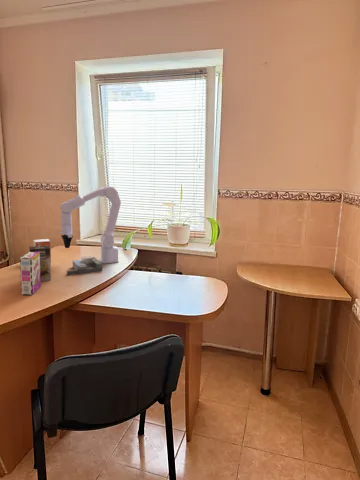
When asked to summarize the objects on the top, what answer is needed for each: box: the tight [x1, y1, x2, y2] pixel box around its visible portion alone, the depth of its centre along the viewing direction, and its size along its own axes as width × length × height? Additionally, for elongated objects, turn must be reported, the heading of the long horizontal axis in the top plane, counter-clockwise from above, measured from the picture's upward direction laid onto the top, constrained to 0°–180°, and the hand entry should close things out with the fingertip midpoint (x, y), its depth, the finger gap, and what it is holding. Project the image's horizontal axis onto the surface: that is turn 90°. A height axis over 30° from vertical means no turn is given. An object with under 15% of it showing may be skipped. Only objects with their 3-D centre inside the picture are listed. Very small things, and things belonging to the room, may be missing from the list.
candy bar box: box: [19, 251, 42, 296], centre depth 144 cm, size 11×5×16 cm, turn 5°
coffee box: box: [28, 246, 52, 282], centre depth 159 cm, size 9×6×16 cm
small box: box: [32, 238, 52, 263], centre depth 187 cm, size 8×6×13 cm
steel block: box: [80, 255, 93, 268], centre depth 182 cm, size 5×4×6 cm
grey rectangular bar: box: [72, 259, 87, 270], centre depth 178 cm, size 4×14×4 cm, turn 32°
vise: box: [66, 256, 103, 276], centre depth 178 cm, size 18×14×4 cm
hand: (67, 247), depth 186 cm, fingers closed
